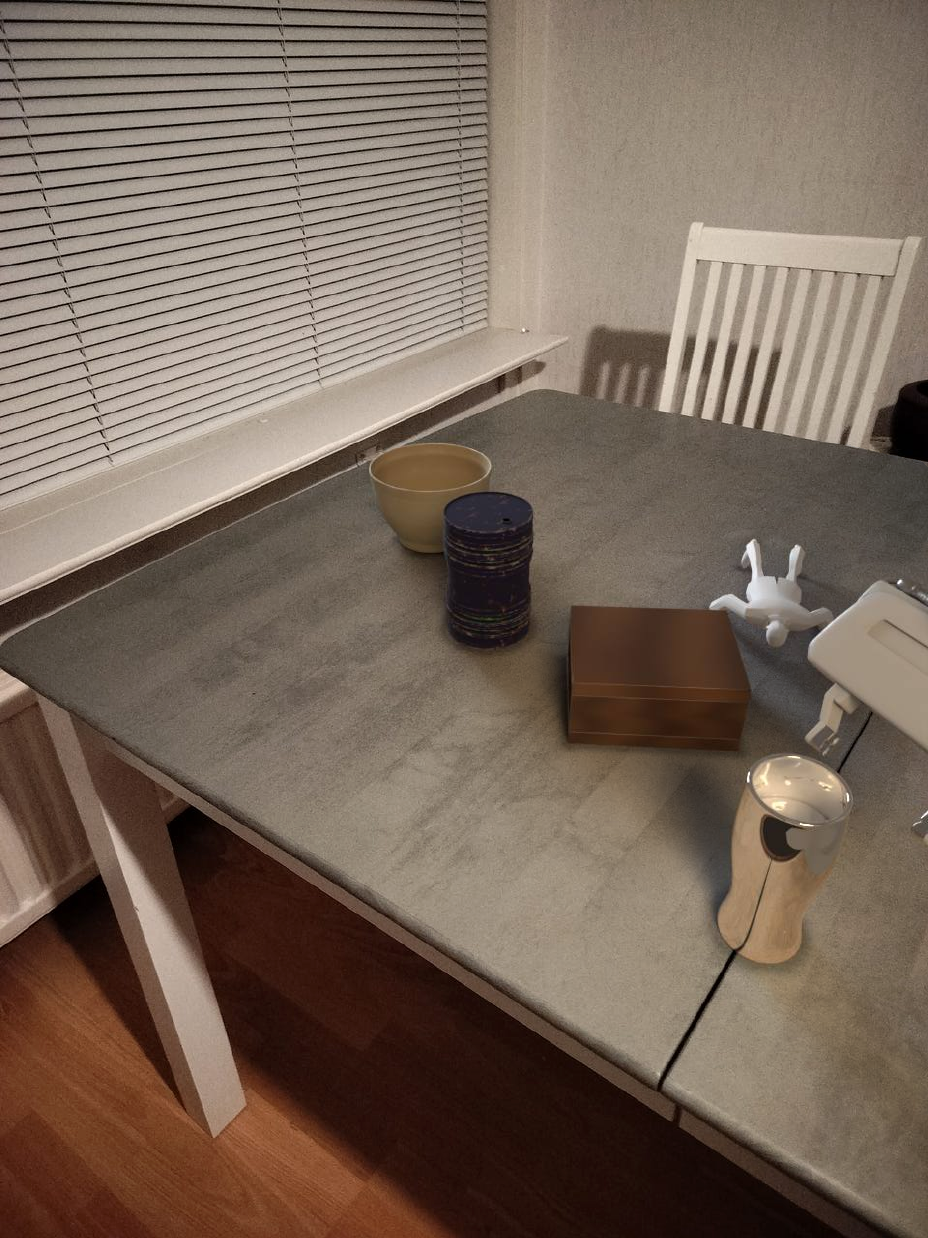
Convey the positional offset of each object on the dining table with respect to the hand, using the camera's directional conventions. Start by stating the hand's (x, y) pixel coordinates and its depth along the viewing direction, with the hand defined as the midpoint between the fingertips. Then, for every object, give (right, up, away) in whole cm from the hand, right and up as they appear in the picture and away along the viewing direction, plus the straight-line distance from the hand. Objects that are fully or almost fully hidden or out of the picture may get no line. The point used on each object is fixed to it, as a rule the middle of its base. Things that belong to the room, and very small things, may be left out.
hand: (864, 792), depth 56 cm
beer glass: (-5, -12, +6) cm, 14 cm away
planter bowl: (-32, +23, +58) cm, 70 cm away
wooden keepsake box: (-9, +3, +28) cm, 30 cm away
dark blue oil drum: (-24, +11, +40) cm, 49 cm away
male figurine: (+8, +11, +40) cm, 42 cm away
